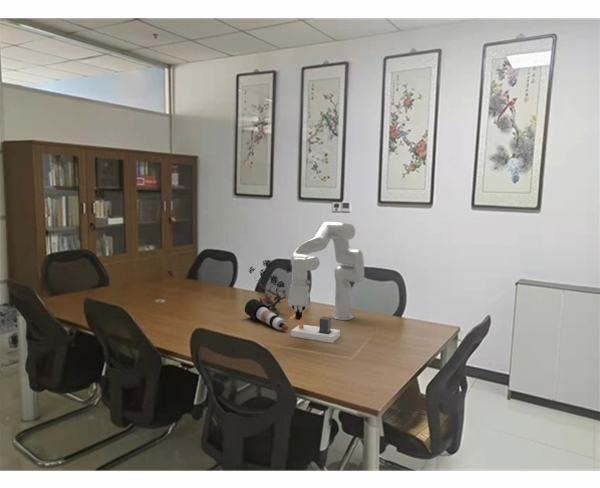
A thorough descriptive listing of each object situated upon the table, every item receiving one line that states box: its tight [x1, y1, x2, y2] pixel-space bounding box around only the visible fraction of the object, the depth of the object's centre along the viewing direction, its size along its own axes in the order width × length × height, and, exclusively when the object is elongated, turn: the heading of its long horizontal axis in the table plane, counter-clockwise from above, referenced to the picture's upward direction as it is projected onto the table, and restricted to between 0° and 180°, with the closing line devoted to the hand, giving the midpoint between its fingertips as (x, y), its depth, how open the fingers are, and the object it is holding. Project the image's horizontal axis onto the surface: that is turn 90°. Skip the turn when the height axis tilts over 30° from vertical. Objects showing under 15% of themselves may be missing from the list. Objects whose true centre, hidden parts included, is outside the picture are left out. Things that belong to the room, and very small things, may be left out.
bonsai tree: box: [248, 259, 292, 316], centre depth 284 cm, size 35×24×32 cm
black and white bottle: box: [244, 298, 289, 331], centre depth 257 cm, size 10×34×10 cm, turn 35°
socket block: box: [290, 324, 341, 344], centre depth 237 cm, size 12×22×4 cm, turn 67°
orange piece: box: [288, 309, 305, 328], centre depth 233 cm, size 17×2×9 cm, turn 160°
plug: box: [319, 316, 332, 334], centre depth 235 cm, size 4×4×10 cm
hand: (298, 319), depth 227 cm, fingers closed
